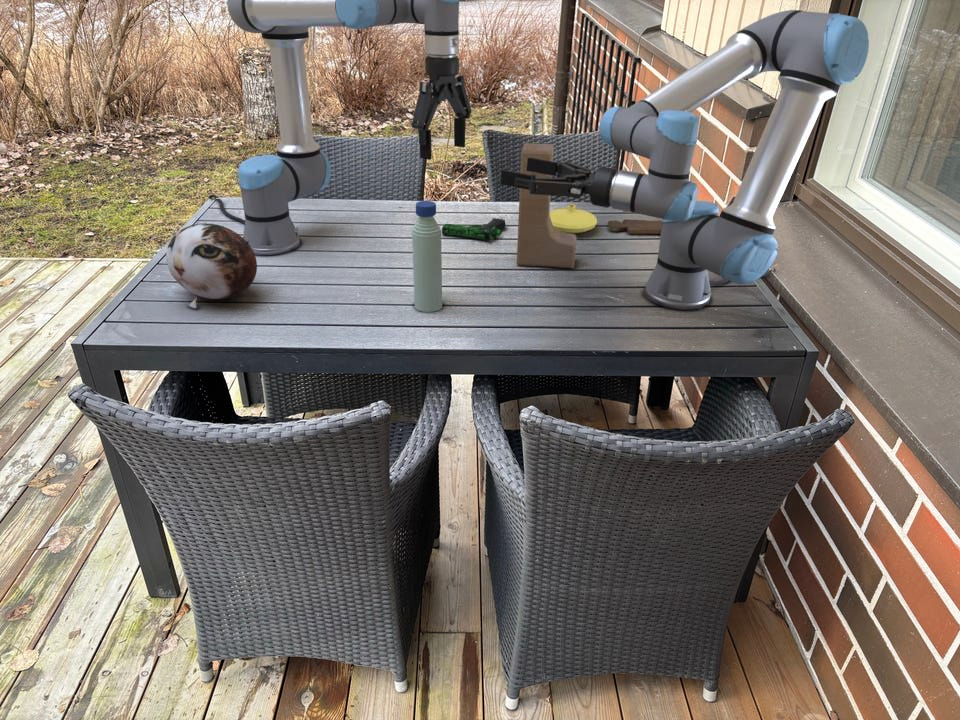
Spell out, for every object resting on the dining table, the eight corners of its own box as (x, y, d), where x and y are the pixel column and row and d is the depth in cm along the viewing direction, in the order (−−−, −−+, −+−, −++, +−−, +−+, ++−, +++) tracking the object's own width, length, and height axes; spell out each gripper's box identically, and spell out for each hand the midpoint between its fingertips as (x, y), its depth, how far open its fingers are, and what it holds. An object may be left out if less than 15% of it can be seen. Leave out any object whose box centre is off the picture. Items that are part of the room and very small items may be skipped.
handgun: (511, 219, 210) (493, 234, 198) (511, 228, 211) (492, 244, 199) (461, 212, 215) (440, 226, 203) (461, 221, 217) (440, 236, 204)
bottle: (442, 312, 164) (440, 210, 151) (414, 312, 163) (410, 210, 151) (442, 299, 169) (440, 200, 157) (415, 300, 169) (411, 200, 157)
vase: (559, 216, 220) (561, 193, 217) (605, 227, 212) (608, 204, 209) (532, 230, 209) (533, 207, 206) (580, 242, 201) (582, 218, 198)
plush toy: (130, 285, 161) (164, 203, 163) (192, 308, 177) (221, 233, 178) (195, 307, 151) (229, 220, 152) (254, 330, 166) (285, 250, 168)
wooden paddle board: (699, 237, 207) (691, 225, 216) (700, 231, 206) (692, 220, 215) (610, 234, 207) (606, 222, 216) (611, 228, 207) (607, 217, 215)
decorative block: (573, 269, 185) (584, 153, 170) (516, 265, 187) (521, 149, 171) (574, 258, 192) (584, 145, 176) (518, 254, 193) (523, 142, 178)
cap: (436, 217, 153) (435, 207, 152) (415, 217, 153) (415, 207, 152) (436, 210, 157) (435, 200, 156) (416, 210, 157) (416, 200, 156)
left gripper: (421, 63, 147) (423, 167, 158) (486, 50, 165) (485, 144, 176) (392, 60, 150) (397, 161, 161) (460, 47, 168) (460, 139, 179)
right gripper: (592, 223, 131) (488, 202, 139) (628, 193, 151) (535, 176, 159) (598, 183, 128) (491, 163, 135) (634, 158, 148) (539, 141, 155)
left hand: (443, 152), depth 168 cm, fingers open, 13 cm apart
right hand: (515, 170), depth 147 cm, fingers open, 13 cm apart
